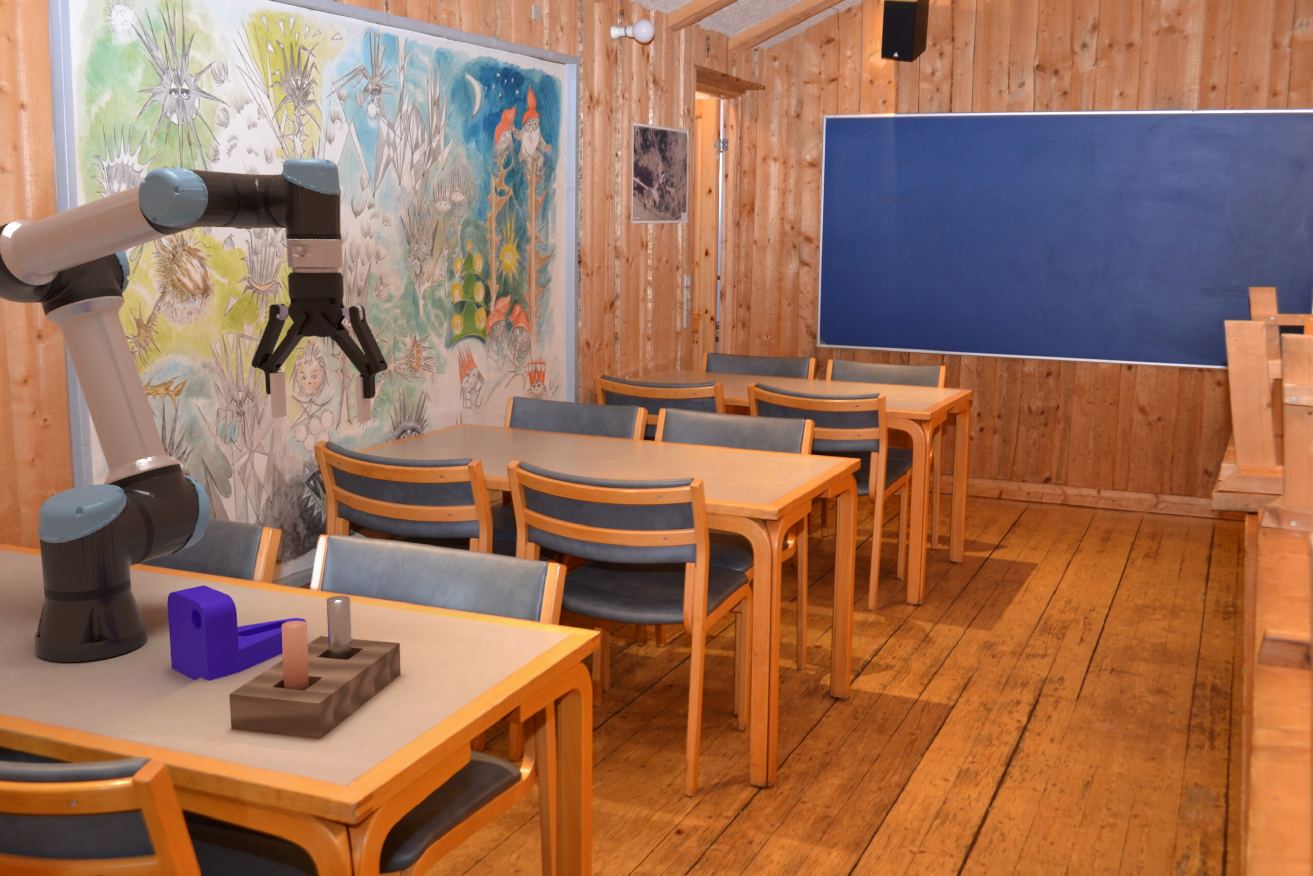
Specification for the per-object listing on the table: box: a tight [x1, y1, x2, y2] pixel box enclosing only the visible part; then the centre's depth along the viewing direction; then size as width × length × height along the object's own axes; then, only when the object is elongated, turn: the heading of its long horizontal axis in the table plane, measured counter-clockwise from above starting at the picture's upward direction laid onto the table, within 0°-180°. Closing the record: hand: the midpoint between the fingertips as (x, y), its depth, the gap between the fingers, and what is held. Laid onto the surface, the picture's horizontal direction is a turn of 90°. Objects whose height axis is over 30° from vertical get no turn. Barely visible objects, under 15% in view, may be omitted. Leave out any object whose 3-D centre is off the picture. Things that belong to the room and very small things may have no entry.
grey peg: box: [326, 595, 352, 660], centre depth 156 cm, size 3×3×12 cm
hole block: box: [229, 635, 401, 740], centre depth 152 cm, size 22×12×6 cm, turn 167°
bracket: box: [167, 584, 307, 682], centre depth 168 cm, size 18×11×12 cm, turn 138°
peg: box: [282, 621, 309, 690], centre depth 146 cm, size 3×3×12 cm
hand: (321, 419), depth 168 cm, fingers open, 13 cm apart
